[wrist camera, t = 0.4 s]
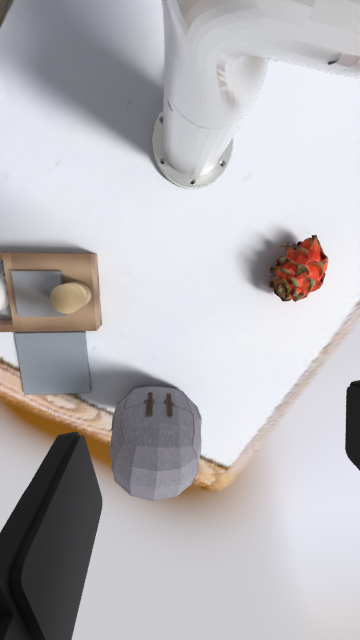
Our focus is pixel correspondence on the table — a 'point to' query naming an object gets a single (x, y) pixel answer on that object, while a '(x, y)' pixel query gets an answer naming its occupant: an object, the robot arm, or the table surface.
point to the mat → (53, 362)
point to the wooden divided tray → (52, 292)
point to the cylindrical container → (3, 293)
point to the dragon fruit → (299, 270)
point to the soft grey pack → (155, 442)
